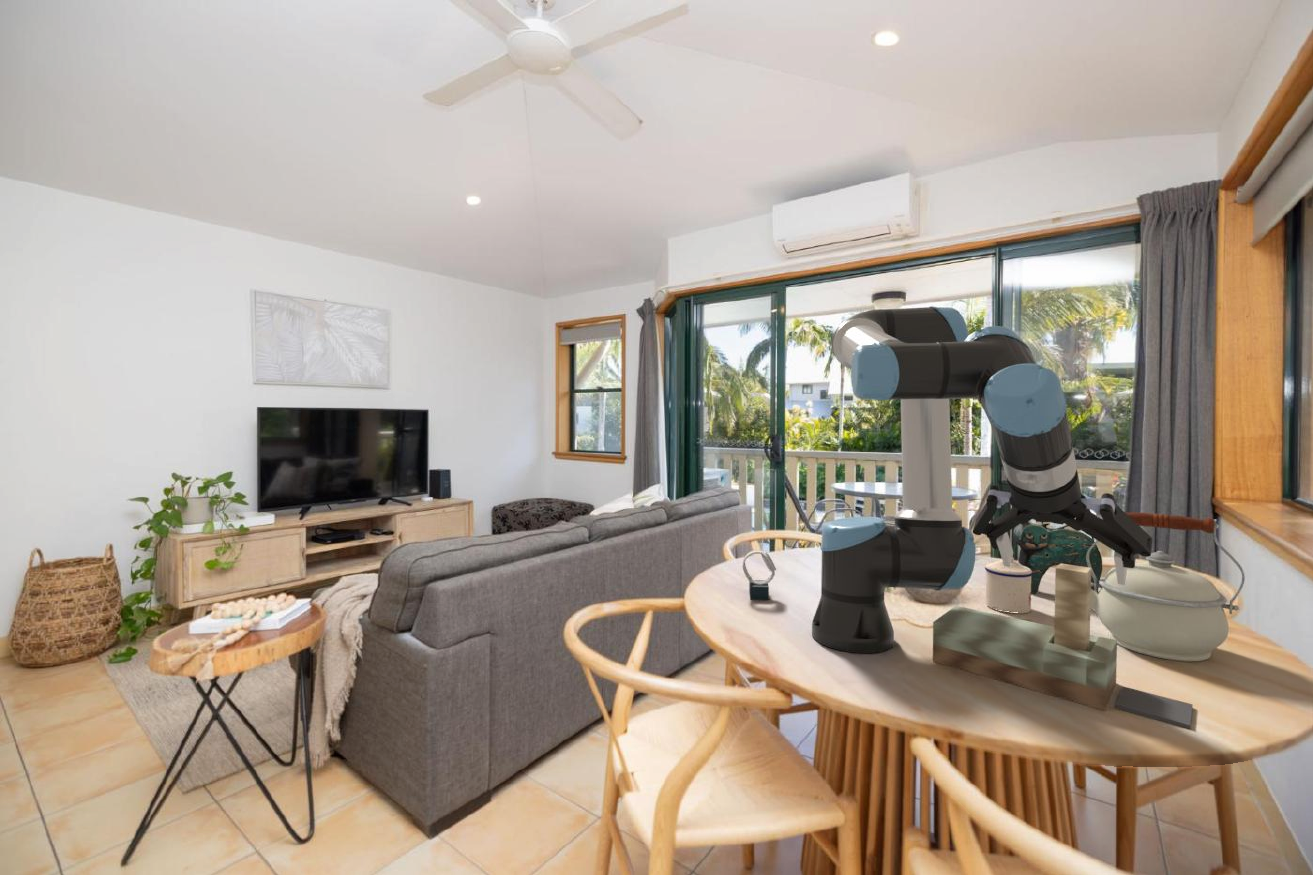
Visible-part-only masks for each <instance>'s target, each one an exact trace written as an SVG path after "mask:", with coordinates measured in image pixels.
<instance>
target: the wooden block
mask: <svg viewBox="0 0 1313 875" xmlns="http://www.w3.org/2000/svg"><path fill="white" fill-rule="evenodd" d="M1054 581H1055V583H1054V585H1055V586H1054V587H1055V588H1054V627H1055V628H1054V644H1057V645H1061V646H1065V647H1070V648H1074V649H1078V650H1083V651H1087V652H1089V650H1090V635H1091V608H1090V603H1091V568H1089V567H1082V566H1075V565H1069V564H1062V563H1061V564H1059V565H1056V567H1055V580H1054Z"/></svg>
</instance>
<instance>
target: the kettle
mask: <svg viewBox="0 0 1313 875" xmlns="http://www.w3.org/2000/svg"><path fill="white" fill-rule="evenodd" d="M1125 513H1126V514H1127V515H1128V516H1129V517H1130V518H1131V519H1132V520H1133V521H1135V522H1136V523H1137V524H1138V525H1139V526H1140V527H1153V528H1158V529H1159V528H1160V529H1171V530H1176V531H1203V532H1205V533H1206V534H1213V539H1214V542H1215V544H1216V546H1217V547H1218V548H1219V549H1221V551H1223V553H1224V554H1225V555H1226V556H1227V557H1228V558H1229V559H1230V560H1231V561H1232V562H1234V564H1235V565H1236V566H1237V568H1238V569H1239V571H1240V573H1241V581H1240V583H1239V586H1238V588H1237V590H1236V591H1235V592H1234V594H1233V595H1232V597H1231V598H1230V600H1229V603H1228V604H1227V601H1228V600H1227V597H1226V596H1225V595H1223V594H1222V593H1219V590H1218V589H1217V587H1216V585H1214V583H1213V582H1212V581H1211V580H1209V578H1207V577H1205V576H1203V575H1201V574H1200V573H1198V572H1195V571H1193V570H1190V569H1187V568H1185V567H1184V568H1183V567H1180V566H1176V565H1172V564H1174V563H1175V560H1174V559H1173V558H1172V557H1171V556H1170V555H1169V554H1167V553H1165V552H1164V551H1162V550H1157V551H1156V552H1155V551H1154V552H1151V556H1148V557H1145V559H1146V560H1147V561H1148V562H1146V561H1144V562H1141V561H1140V562H1139V561H1138V562H1136V561H1135V567H1134V568H1127V573H1126V581H1125V585H1120V584H1118V582H1117V575H1116V568H1115V567H1113V568H1111V569H1110V570H1109V571H1108V572H1107V573H1106V575H1105V576H1104V577H1101V578H1100V580H1099V584H1098V583H1097V578H1096V576H1095V574H1094V572H1093V570H1092V567H1091V564H1090V560H1089V553H1090V550H1091V549H1092V548H1093V546H1094V545H1097V544H1098V543H1100V542H1099V541H1098V540H1096V541H1094V542H1095V543H1094V544H1093V545H1092V546H1091V547H1090V548H1089V550H1088V551H1087V555H1086V561H1087V565H1088V567H1089V568H1091V575H1092V577H1093V579H1094V583H1092V582H1091V587H1094V590H1092V589H1091V603H1090V610H1092V611H1093V612H1095V613H1096V615H1097V617H1098V619H1099V621H1100V623H1102V625H1103V626H1104V627H1105V628H1106V630H1108V631H1109V633H1108V636H1109V637H1110V638H1109V639H1113V640H1117V645H1119V646H1121V647H1123V648H1125V649H1126V650H1130V651H1132V652H1135V653H1139V654H1142V655H1146V656H1149V657H1153V658H1158V659H1163V660H1170V661H1176V662H1187V663H1188V662H1189V663H1190V662H1191V663H1192V662H1201V661H1202V662H1203V661H1206V660H1208V659H1210V658H1211V656H1212V651H1214V650H1215V649H1216V648H1218V647H1220V646H1221V645H1223V644H1224V642H1225V641H1226V640H1227V637H1228V635H1229V629H1230V628H1229V622H1228V618H1227V615H1226V612H1225V610H1226V609H1227V610H1228V611H1229V614H1230V615H1232V614H1233V611H1240V607H1239V606H1238V605H1234V604H1233V603H1234V601H1235V600H1236V599H1237V597H1238V596H1239V594H1240V593H1241V591H1242V589H1243V587H1244V584H1245V578H1246V577H1245V572H1244V569H1243V568H1242V566H1241V564H1240V563H1239V561H1237V560H1236V559H1235V558H1234V556H1233V555H1232V554H1231V553H1230V552H1229V551H1228V550H1226V549H1225V547H1223V546H1222V544H1221V543H1219V541H1218V538H1217V529H1219V528H1220V525H1219V524H1218V523H1217V519H1214V518H1212V517H1206V518H1204V519H1201V518H1195V517H1194V518H1193V517H1190V516H1183V515H1169V514H1162V513H1159V514H1158V513H1149V512H1125ZM1097 588H1098V589H1100V590H1098V592H1096V591H1097Z"/></svg>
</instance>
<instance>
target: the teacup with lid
mask: <svg viewBox="0 0 1313 875" xmlns="http://www.w3.org/2000/svg"><path fill="white" fill-rule="evenodd" d="M984 569H985V604H986V606H987V607H988V606H989V607H988V608H990V607H991V608H990V609H992V608H993V609H992V610H994V609H997V610H1002V611H1009V612H1018V613H1024V614H1027V613H1030V611H1031V610H1032V609H1031V608H1032V607H1031V606H1032V593H1031V576H1032V575H1033V573H1032V571H1031V569H1030V568H1028V567H1025V566H1023V565H1021V564H1020V563H1018V561H1015V559H1014V556H1012V560H1011V565H1010V567H1007V566H1004V563H1003V560H1002V559H999V560H997V561H995V562H990V563H986V565H985V566H984ZM997 610H996V611H997Z"/></svg>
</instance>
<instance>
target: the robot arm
mask: <svg viewBox="0 0 1313 875" xmlns="http://www.w3.org/2000/svg"><path fill="white" fill-rule="evenodd" d="M831 349H832V353H833V356H834V357H835V359H836V360H837V361H838V363H839V364H840V365H842V366H843V367H845V368H848V369H850V380H851V381H850V382H851V388H852V392H853V395H854V396H855V397H856V398H857V399H859V400H872V401H873V400H875V401H878V402H883V401H888V400H889V401H890V400H892V401H893V400H900V428H901V429H900V431H901V435H900V436H901V475H902V476H901V478H902V479H901V483H902V484H901V485H902V489H901V490H902V508H900V510H899V511H898V512H897V513H896V514H895V515H894V525H887V524H886V522H885V520H884V519H883V518H882V517H877V516H866V515H865V516H863V515H862V516H850V517H844V518H839V519H834V520H832V521H829V522H828V523H826V524H825V525H824V526H823V527H822V532H821V544H820V545H819V546H820V550H821V572H820V573H821V576H820V579H821V583H820V584H821V587H820V588H821V590H820V592H821V593H820V595H821V596H820V599H819V600H818V601H819V602H818V604H817V607H816V610H815V613H814V616H813V620H812V622H811V636H812V637H813V638H814V640H815V641H817V642H818V643H820V644H821V645H824V646H826V647H828V648H832V649H835V650H838V651H840V652H841V651H842V652H846V653H853V654H854V653H855V654H856V653H857V654H876V653H882V652H886V651H888V650H890V649H891V648H892V647H894V645H895V631H894V628H893V625H892V624H893V623H892V620H891V619H890V615H889V613H888V609H887V606H886V603H885V588H894V589H896V588H897V589H899V588H900V589H921V590H922V589H923V590H924V589H925V590H934V591H935V592H936V591H939V592H940V591H945V590H946V591H947V590H960V589H962V588H964V587H965V586H967V584H968V582H969V581H970V579H971V577H972V574H973V572H974V569H975V568H974V567H975V563H976V555H977V554H976V543H975V537H974V535H975V536H981V535H985V536H986V537H987V539H988V540H989V542H990V545H991V547H992V549H993V550H998V551H999V554H1000V557H1001V560H1003V563H1004V566H1007V567H1010V565H1011V560H1012V557H1014V556H1013V555H1014V550H1013V546H1012V543H1011V539H1010V536H1009V534H1008V533H1009V531H1011V530H1014V529H1015V527H1016V526H1017V525H1019V524H1021V525H1023V524H1025V523H1026V522H1030V521H1031V520H1034V521H1035V522H1036V523H1042V522H1043V523H1051V524H1057V525H1063V526H1065V525H1068V527H1069V528H1071V529H1072V530H1075V531H1078V532H1081V531H1082V533H1084V534H1086V535H1087V536H1089V537H1090V538H1092V537H1093V538H1094V540H1096V541H1097V540H1098V541H1099V542H1098V543H1101V544H1103V545H1104V546H1105V547H1108V548H1109V549H1111V550H1112V551H1114V555H1113V560H1114V566H1115V568H1116V575H1117V582H1118V584H1120V585H1125V581H1126V573H1127V568H1134V567H1135V563H1136V558H1137V557H1136V555H1140V556H1141V557H1145V558H1146V557H1148V556H1151V553H1152V548H1153V537H1152V536H1151V535H1150V534H1149V533H1148V532H1147V531H1146V530H1144V529H1143V528H1142V526H1139V525H1138V524H1137V523H1136V522H1135V521H1133V520H1132V519H1131V518H1130V517H1129V516H1128V515H1127V514H1126V513H1127V512H1125V511H1124V510H1123V509H1122V508H1121V507H1120V506H1119V505H1118V504H1117V502H1116V498H1115V495H1114V494H1112V493H1106V492H1105V493H1102V494H1101V498H1093V497H1092V498H1090V497H1089V498H1088V497H1087V496H1085V495H1084V494H1083V492H1082V489H1081V485H1080V484H1081V483H1080V479H1079V473H1078V468H1077V460H1076V456H1075V451H1074V448H1073V442H1072V436H1071V435H1072V434H1071V430H1070V423H1069V417H1068V412H1067V396H1066V393H1065V391H1064V390H1063V388H1062V383H1061V380H1060V378H1059V376H1058V374H1057V373H1056V372H1055V371H1054V370H1052V369H1051V368H1047V367H1045V366H1044V367H1043V366H1042V365H1040V364H1038V363H1037V362H1036V359H1035V358H1034V355H1033V354H1032V351H1031V349H1030V347H1029V346H1028V344H1027V343H1026V342H1024V340H1023V339H1022V338H1021V337H1020V336H1019V335H1018V334H1017V333H1016V332H1015V331H1014V330H1012V329H1011V328H1009V327H1005V326H1002V325H1001V326H1000V325H991V326H987V327H984V328H981V329H979V330H976V331H973V332H972V333H970V334H969V330H968V327H967V323H966V321H965V318H964V317H963V315H962V314H961V313H960V311H958V310H957V309H956V308H953V307H948V306H947V307H940V306H939V307H938V306H933V305H932V306H928V307H927V306H926V307H911V308H909V307H908V308H888V309H882V308H879V309H878V308H877V309H871V310H866V311H862V312H859V313H857V314H855V315H852V316H851V317H848V318H847V319H845V320H843V322H841V323H840V324H839V326H837V328H836V329H835V330H834V333H833V335H832V339H831ZM959 399H960V400H967V399H968V400H971V399H974V400H975V399H976V400H978V401H979V404H980V406H981V408H982V409H983V411H984V413H985V415H986V417H987V419H988V421H989V424H990V426H991V429H992V432H993V435H994V438H995V441H996V443H997V447H998V452H999V457H1000V459H1001V463H1002V467H1003V470H1004V473H1005V476H1006V481H1007V485H1008V489H1009V492H1007V491H1001V488H1000V487H999V486H998V485H990V488H989V490H988V494H987V497H986V502H985V503H984V505H983V506H982V509H981V510H980V512H979V513H978V515H977V517H976V519H975V521H974V526H973V528H972V531H971V529H970V528H967V527H965V526H963V519H962V517H961V516H960V515H959V514H958V513H957V512H955V510H954V509H953V494H952V493H953V484H952V482H953V481H952V480H953V479H952V451H951V450H952V444H951V442H952V441H951V408H950V400H959ZM1005 503H1009V504H1010V505H1011V506H1012V507H1011V508H1010V509H1008V510H1006V511H1005V512H1004V513H1003V514H1001V515H999V516H998V517H997V518H994V516H995V514H996V513H997V509H1001V508H1002V506H1005ZM1092 511H1093V512H1094V513H1095V514H1094V513H1092Z"/></svg>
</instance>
